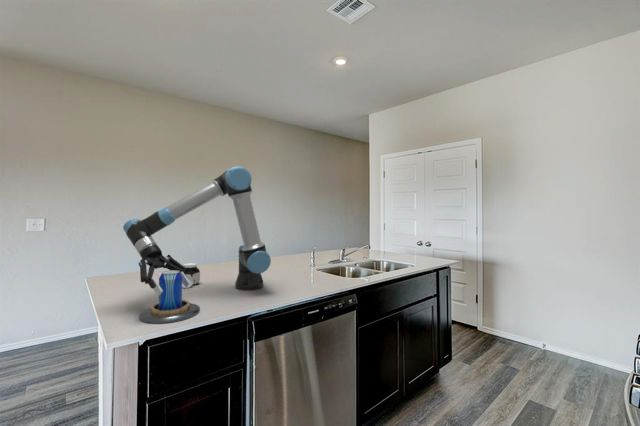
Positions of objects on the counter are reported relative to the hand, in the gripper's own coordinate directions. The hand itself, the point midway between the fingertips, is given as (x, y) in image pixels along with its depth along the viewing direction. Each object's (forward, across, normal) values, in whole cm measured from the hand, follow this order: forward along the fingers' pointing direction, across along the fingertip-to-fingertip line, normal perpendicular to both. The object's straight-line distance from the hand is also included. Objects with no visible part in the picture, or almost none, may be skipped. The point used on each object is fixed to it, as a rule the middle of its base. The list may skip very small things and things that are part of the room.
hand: (175, 289), depth 122 cm
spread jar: (-14, -37, -28) cm, 48 cm away
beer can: (+5, 0, -8) cm, 10 cm away
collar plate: (+6, 0, -9) cm, 10 cm away
